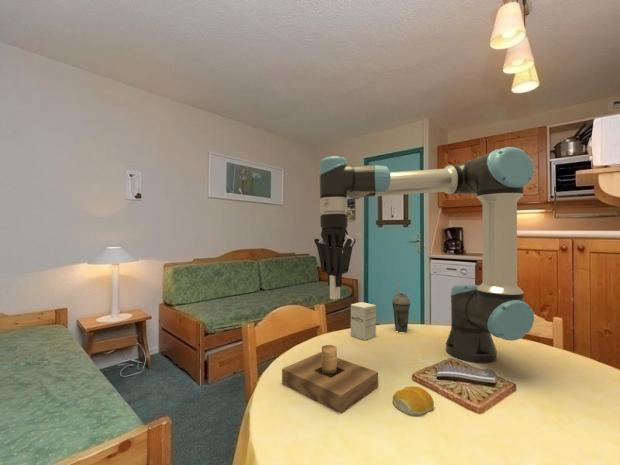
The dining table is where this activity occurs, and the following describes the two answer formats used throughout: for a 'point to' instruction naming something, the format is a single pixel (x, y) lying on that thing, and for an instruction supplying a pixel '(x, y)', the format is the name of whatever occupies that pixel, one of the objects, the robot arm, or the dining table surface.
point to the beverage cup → (401, 311)
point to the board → (330, 382)
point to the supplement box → (363, 320)
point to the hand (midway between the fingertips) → (335, 298)
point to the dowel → (329, 360)
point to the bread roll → (413, 400)
